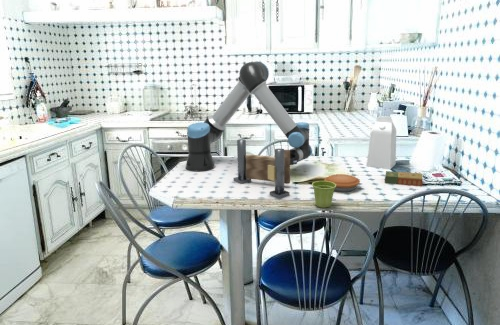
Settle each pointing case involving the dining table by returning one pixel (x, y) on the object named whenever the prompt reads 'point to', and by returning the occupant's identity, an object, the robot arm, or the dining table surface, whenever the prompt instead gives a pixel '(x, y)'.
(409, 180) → the carton
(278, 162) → the gate posts
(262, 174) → the gate
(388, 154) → the milk
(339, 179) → the pie
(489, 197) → the dining table surface
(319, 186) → the plant pot
